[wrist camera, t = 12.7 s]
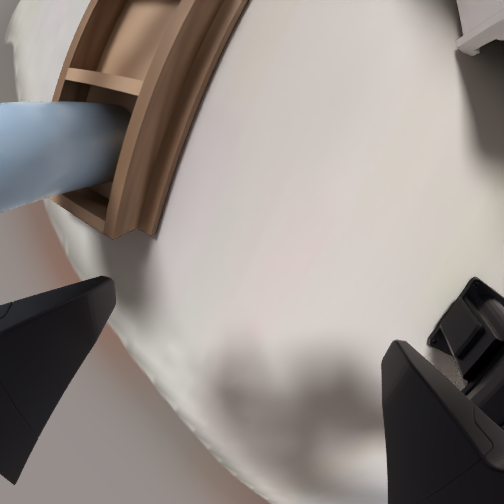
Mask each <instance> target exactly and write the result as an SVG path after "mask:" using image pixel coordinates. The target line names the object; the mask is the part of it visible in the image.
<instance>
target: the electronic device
mask: <svg viewBox="0 0 504 504" xmlns="http://www.w3.org/2000/svg"><path fill="white" fill-rule="evenodd" d="M456 1H457V6H458V10H459V15H460V20H461V26H462V32H463V36H462V37H460V38H459V39H458V40H456V43H457V48H459V49H460V50H461V51H462V52H463V53H465V54H468V55H471V56H474V55H476V54H478V53H480V49H479V47H481V46H483V45H485V44H487V43H489V42H491V41H493V40H495V39H498V40H504V0H456Z"/></svg>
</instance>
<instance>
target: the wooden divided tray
mask: <svg viewBox="0 0 504 504" xmlns="http://www.w3.org/2000/svg"><path fill="white" fill-rule="evenodd" d="M247 1H248V0H91V1H90V3H89V5H88V7H87V9H86V11H85V13H84V15H83V17H82V20H81V22H80V24H79V26H78V28H77V31H76V33H75V35H74V38H73V40H72V43H71V45H70V48H69V50H68V53H67V56H66V58H65V61H64V64H63V67H62V70H61V73H60V76H59V79H58V82H57V86H56V89H55V92H54V96H53V99H52V101H63V102H90V103H105V104H117V105H120V106H123V107H124V108H126V109H127V110H128V111H129V112H130V113H131V115H132V116H131V119H130V122H129V125H128V128H127V132H126V135H125V138H124V142H123V145H122V149H121V152H120V156H119V160H118V164H117V168H116V172H115V176H114V180H113V181H112V182H108V183H103V184H99V185H95V186H91V187H87V188H83V189H79V190H75V191H71V192H67V193H63V194H60V195H56V196H52V197H49V199H51V200H52V201H54V202H55V203H57V204H58V205H60V206H61V207H63V208H64V209H66V210H67V211H69V212H70V213H72V214H73V215H75V216H76V217H78V218H79V219H81V220H82V221H84V222H85V223H87V224H89V225H90V226H92V227H93V228H95V229H96V230H98V231H100V232H101V233H103V234H104V235H106V236H108V237H109V238H111V239H112V240H113V239H115V238H117V237H119V236H121V235H123V234H125V233H128V232H130V231H132V230H134V229H136V228H137V229H139V230H141V231H143V232H145V233H146V234H148V235H150V236H151V235H153V234H155V233H156V231H157V227H158V223H159V220H160V216H161V213H162V210H163V206H164V203H165V199H166V196H167V193H168V190H169V186H170V183H171V180H172V177H173V174H174V171H175V168H176V165H177V162H178V159H179V156H180V153H181V150H182V148H183V145H184V142H185V139H186V137H187V134H188V131H189V128H190V126H191V123H192V121H193V118H194V115H195V113H196V110H197V108H198V105H199V103H200V100H201V98H202V95H203V93H204V91H205V88H206V86H207V84H208V81H209V79H210V77H211V74H212V72H213V70H214V68H215V65H216V63H217V61H218V59H219V57H220V54H221V52H222V50H223V48H224V46H225V44H226V42H227V40H228V38H229V36H230V34H231V32H232V30H233V28H234V26H235V24H236V22H237V20H238V18H239V16H240V14H241V12H242V10H243V9H244V7H245V5H246V3H247Z"/></svg>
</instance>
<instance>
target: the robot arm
mask: <svg viewBox="0 0 504 504" xmlns="http://www.w3.org/2000/svg"><path fill="white" fill-rule="evenodd" d="M475 282H477V283H476V285H475V286H473V285H474V283H475ZM115 304H116V294H115V283H114V280H113V279H112V278H109V277H106V276H99V277H96V278H92V279H89V280H85V281H82V282H78V283H75V284H71V285H68V286H64V287H61V288H57V289H54V290H51V291H47V292H44V293H40V294H37V295H33V296H30V297H27V298H23V299H20V300H17V301H14V302H10V303H7V304H3V305H0V474H1V475H2V476H4V477H5V478H6V479H7V480H8V481H10V482H11V483H12V484H14V485H15V484H16V482H17V480H18V478H19V476H20V474H21V472H22V470H23V468H24V465H25V464H26V461H27V459H28V457H29V455H30V453H31V452H32V450H33V447H34V446H35V444H36V442H37V440H38V437H39V436H40V434H41V432H42V430H43V428H44V427H45V425H46V423H47V421H48V419H49V418H50V416H51V414H52V412H53V410H54V409H55V407H56V405H57V404H58V402H59V400H60V398H61V397H62V395H63V393H64V391H65V390H66V388H67V387H68V385H69V383H70V382H71V380H72V379H73V377H74V375H75V374H76V372H77V370H78V369H79V367H80V366H81V364H82V363H83V361H84V360H85V358H86V356H87V355H88V353H89V352H90V350H91V349H92V347H93V346H94V344H95V343H96V341H97V339H98V337H99V335H100V334H101V332H102V330H103V328H104V326H105V324H106V322H107V320H108V318H109V317H110V315H111V313H112V311H113V309H114V307H115ZM434 339H436V340H435V341H433V340H434ZM428 341H429V343H430V345H431V346H433V347H435V348H437V349H439V350H441V351H443V352H445V353H447V354H449V355H451V356H453V357H454V360H455V362H456V364H457V367H458V369H459V372H460V374H461V377H462V379H463V382H464V384H465V388H464V389H463V390H462V391H460V390H459V389H458V388H457V387H456V386H455V385H454V384H453V383H451V382H450V381H449V380H448V379H447V378H446V377H445V376H444V375H443V374H442V373H441V372H440V371H438V370H437V369H436V368H435V367H434V366H433V365H432V364H431V363H430V362H429V361H427V360H426V359H425V358H424V357H423V356H422V355H421V354H420V353H419V352H417V351H416V350H415V349H414V348H413V347H412V346H411V345H410V344H408V343H407V342H406V341H402V340H394V341H393V342H392V343H391V345H390V347H389V348H388V350H387V352H386V354H385V356H384V357H383V360H382V364H381V371H382V408H383V418H384V428H385V440H386V454H387V474H388V504H504V297H503V296H501V295H500V294H499V293H498V292H496V291H495V290H494V289H492V288H491V287H490V286H488V285H487V284H486V283H484V282H483V281H482V280H480V279H479V278H478V277H473V278H472V279H471V280H470V281H469V283H468V284H467V286H466V287H465V289H464V290H463V292H462V293H461V295H460V296H459V298H458V299H457V300H456V302H455V303H454V304H453V306H452V307H451V309H450V310H449V311H448V313H447V314H446V316H445V317H444V318H443V320H442V321H441V322H440V324H439V325H438V327H437V328H436V329H435V330H434V332H433V333H432V334H431V335H430V337H429V339H428Z"/></svg>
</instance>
